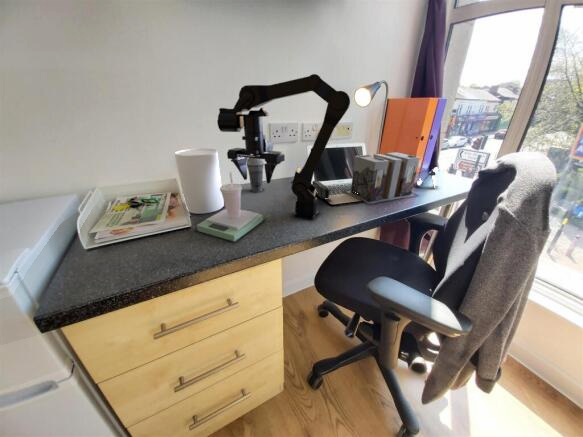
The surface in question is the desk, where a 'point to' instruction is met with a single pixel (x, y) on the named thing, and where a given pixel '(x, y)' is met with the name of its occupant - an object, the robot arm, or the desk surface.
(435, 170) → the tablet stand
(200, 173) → the canister
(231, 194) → the smoothie
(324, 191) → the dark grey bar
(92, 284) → the desk surface
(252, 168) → the beverage cup
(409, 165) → the bookend
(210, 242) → the desk surface
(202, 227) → the scale
